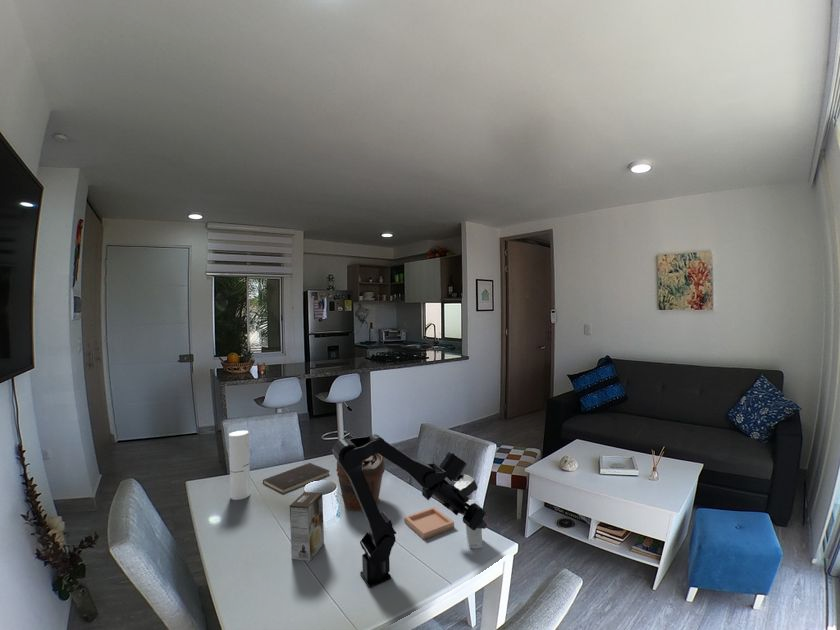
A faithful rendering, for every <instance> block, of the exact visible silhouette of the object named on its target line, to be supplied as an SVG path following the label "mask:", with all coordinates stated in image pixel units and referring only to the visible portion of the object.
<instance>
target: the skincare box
mask: <svg viewBox="0 0 840 630" xmlns="http://www.w3.org/2000/svg"><path fill="white" fill-rule="evenodd" d="M466 503H468V504H469V505H471V504H473V503H476V504H477V505H478V506H480V504H479V501H478V499H469V500H468V501H467V502H466ZM465 507H466V506H465ZM466 508H467V507H466ZM467 509H468V508H467ZM465 513H466V512H465ZM465 534H466V541H467V545H468V548H469V549H471V550H472V549H483V531H482V529H480V528H476V530H474V531H473V530H472V529H471V528H469V527H468V526H467V525H466V524H465Z"/></svg>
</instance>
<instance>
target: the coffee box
mask: <svg viewBox="0 0 840 630" xmlns="http://www.w3.org/2000/svg"><path fill="white" fill-rule="evenodd" d="M323 504H324V503H323V492H315V491H314V492H311V491H309V492H308V491H304V492H303V493H301V495H300V496H298V497H297V498H296V499H295V500H293V502H292V503H291V504H290V505H289V522H290V523H289V525H290V528H289V529H290V551H291V560H296V561H297V560H300V561H307V562H310V561H312V560H313V558H314V557H315V555H316V554H317V553H318V552H319V550H321V548H322V547H323V545H324V544H325V536H324V535H325V531H324V507H323V506H324V505H323Z"/></svg>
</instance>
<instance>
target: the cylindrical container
mask: <svg viewBox="0 0 840 630" xmlns="http://www.w3.org/2000/svg"><path fill="white" fill-rule="evenodd" d="M249 434H250V433H249V430H236V431H232V432H230V433H229V434H228V449H229V451H228V452H229V454H228V455H229V483H230V484H229V485H230V499H231V500H233V501H239V500H243V499H246V498H248V497H249V496H250V495H251V472H250V471H251V470H250V467H251V466H250V464H251V463H250V435H249Z"/></svg>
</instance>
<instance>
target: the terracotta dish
mask: <svg viewBox="0 0 840 630" xmlns="http://www.w3.org/2000/svg"><path fill="white" fill-rule="evenodd" d="M404 524H405V526H408V527H409V528H410V529H411V530H412V531H413V532H414V533H415V534H417V535H418V536H419V537H420V538H421V539H422V540H427V539H430V538H433V537H434V536H437V535H440V534H443V533H445V532H447V531H450V530H453V529H455V521H454V520H452V519H451V518H449V517H448V516H447V515H445V513H442V512H441V511H440V510H439V509H437V508H436V507H434V506H433V507H430V508H427V509H424V510H421V511H417V512H414V513H413V514H409V515H407V516H404Z"/></svg>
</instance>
